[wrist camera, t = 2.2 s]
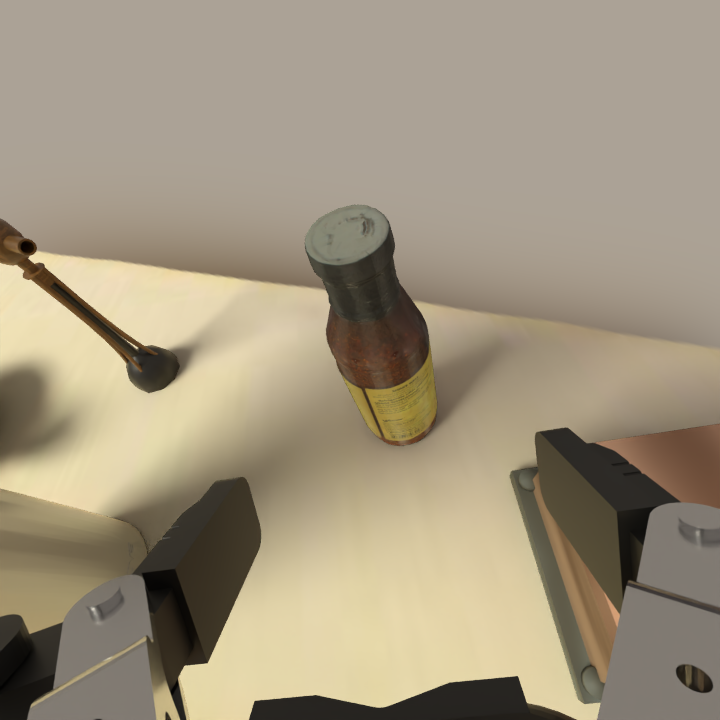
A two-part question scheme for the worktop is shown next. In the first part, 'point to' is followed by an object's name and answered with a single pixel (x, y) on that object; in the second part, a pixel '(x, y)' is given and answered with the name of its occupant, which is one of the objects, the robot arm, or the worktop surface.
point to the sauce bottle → (374, 324)
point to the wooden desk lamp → (91, 316)
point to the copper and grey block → (569, 573)
